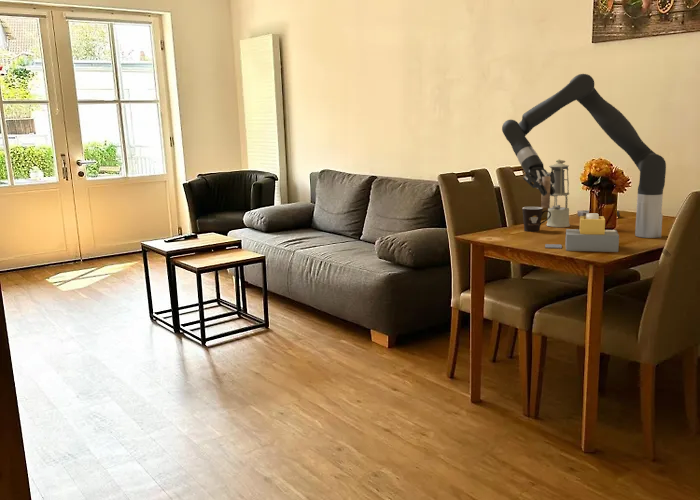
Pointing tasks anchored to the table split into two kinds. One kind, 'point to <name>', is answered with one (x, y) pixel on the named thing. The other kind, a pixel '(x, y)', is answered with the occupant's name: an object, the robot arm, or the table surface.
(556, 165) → the lamp
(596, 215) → the breaker button
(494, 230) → the table surface
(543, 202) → the brown wooden cylinder
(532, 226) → the coffee mug
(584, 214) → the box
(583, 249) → the grey base plinth
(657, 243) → the table surface
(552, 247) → the rest pad
